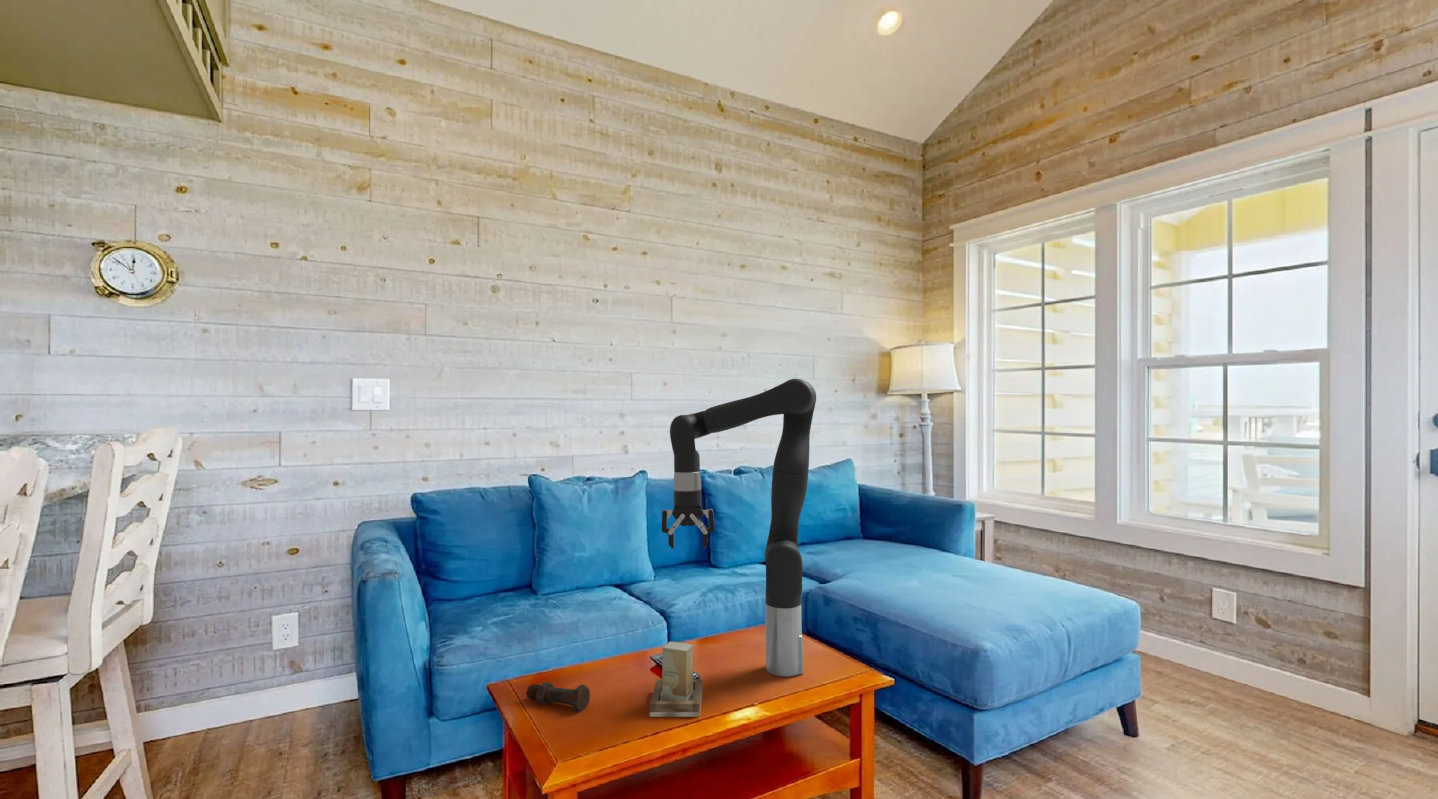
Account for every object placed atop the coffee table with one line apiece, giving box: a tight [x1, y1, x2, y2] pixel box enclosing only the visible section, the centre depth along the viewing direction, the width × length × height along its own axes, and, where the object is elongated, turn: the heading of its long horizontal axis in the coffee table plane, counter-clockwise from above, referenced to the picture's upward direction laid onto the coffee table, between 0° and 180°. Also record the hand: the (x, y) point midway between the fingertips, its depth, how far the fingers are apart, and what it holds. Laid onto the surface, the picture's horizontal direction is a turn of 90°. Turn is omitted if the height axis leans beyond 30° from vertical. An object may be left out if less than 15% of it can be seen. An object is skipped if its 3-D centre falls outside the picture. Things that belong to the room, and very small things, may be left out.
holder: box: [649, 678, 703, 718], centre depth 152 cm, size 11×13×3 cm
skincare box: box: [661, 640, 694, 701], centre depth 152 cm, size 6×4×12 cm
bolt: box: [525, 681, 591, 713], centre depth 152 cm, size 6×5×15 cm
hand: (688, 547), depth 179 cm, fingers open, 8 cm apart
